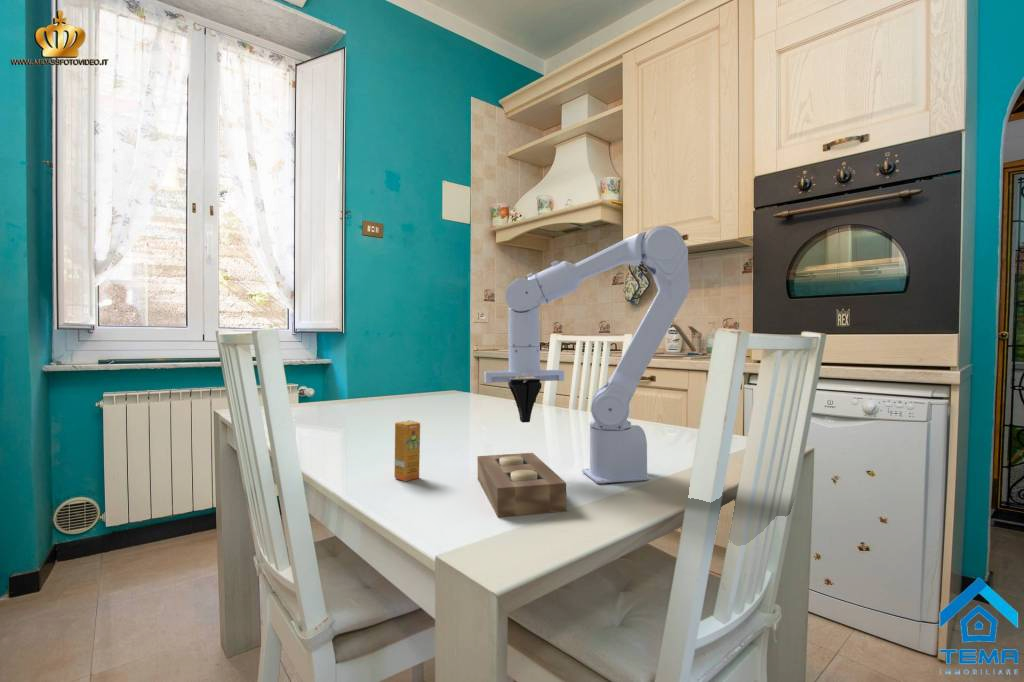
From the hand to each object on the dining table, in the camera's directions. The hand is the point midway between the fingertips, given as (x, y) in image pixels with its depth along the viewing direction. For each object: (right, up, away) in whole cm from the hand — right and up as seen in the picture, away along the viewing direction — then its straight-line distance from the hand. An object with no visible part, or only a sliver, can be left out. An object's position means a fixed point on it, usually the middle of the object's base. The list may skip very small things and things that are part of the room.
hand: (524, 421), depth 91 cm
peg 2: (-1, -9, -16) cm, 18 cm away
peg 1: (-2, -9, -7) cm, 12 cm away
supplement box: (-21, -10, -2) cm, 23 cm away
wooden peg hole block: (-2, -10, -12) cm, 15 cm away
